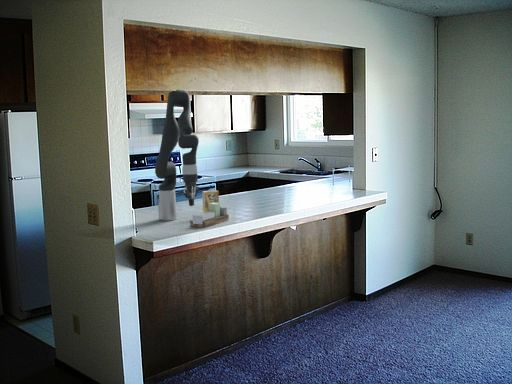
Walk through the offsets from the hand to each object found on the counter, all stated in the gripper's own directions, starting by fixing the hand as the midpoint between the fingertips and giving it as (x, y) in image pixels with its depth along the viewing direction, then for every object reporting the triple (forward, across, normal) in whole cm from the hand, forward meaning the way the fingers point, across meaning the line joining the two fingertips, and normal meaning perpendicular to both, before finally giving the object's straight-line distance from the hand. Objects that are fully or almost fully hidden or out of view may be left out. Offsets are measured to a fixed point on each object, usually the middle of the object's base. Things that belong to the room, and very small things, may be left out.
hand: (191, 205), depth 319 cm
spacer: (+11, +22, 0) cm, 25 cm away
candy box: (+12, +33, +10) cm, 37 cm away
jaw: (+11, +11, 0) cm, 16 cm away
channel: (+12, +17, 0) cm, 21 cm away
